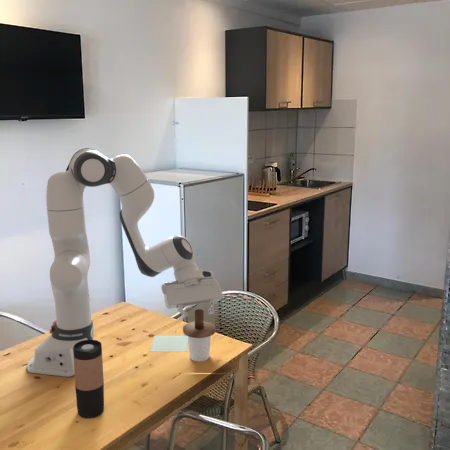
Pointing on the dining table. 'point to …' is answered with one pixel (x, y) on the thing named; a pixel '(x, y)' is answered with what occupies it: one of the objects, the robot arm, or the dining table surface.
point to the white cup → (199, 348)
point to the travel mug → (89, 378)
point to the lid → (199, 326)
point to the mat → (169, 344)
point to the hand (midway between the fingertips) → (199, 315)
